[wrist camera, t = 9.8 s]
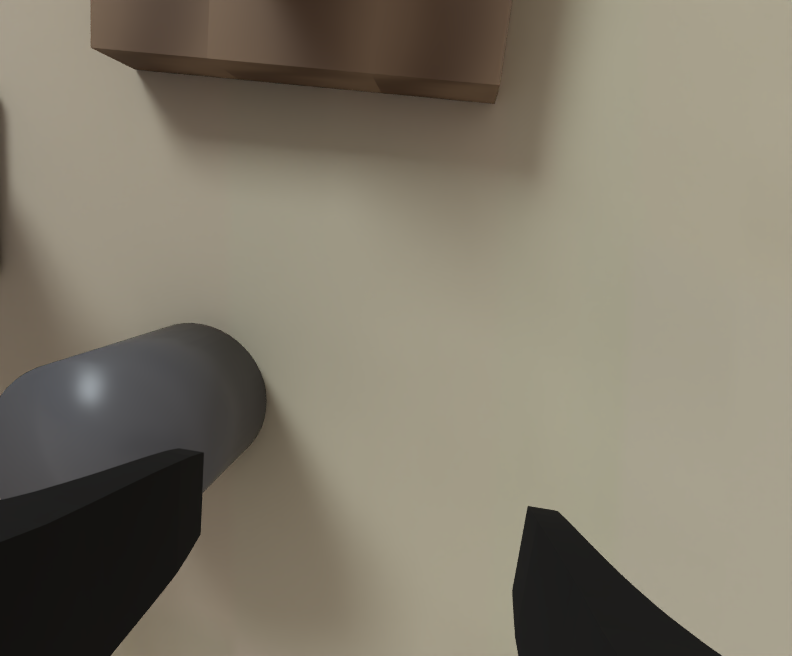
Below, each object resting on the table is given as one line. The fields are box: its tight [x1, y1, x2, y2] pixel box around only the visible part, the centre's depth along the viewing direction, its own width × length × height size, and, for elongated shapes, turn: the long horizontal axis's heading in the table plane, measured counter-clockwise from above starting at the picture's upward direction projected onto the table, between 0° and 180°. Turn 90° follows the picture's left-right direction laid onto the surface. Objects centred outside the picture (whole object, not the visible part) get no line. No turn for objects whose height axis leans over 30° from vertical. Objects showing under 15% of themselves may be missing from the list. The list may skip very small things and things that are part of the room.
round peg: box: [0, 323, 266, 500], centre depth 19 cm, size 6×6×7 cm
